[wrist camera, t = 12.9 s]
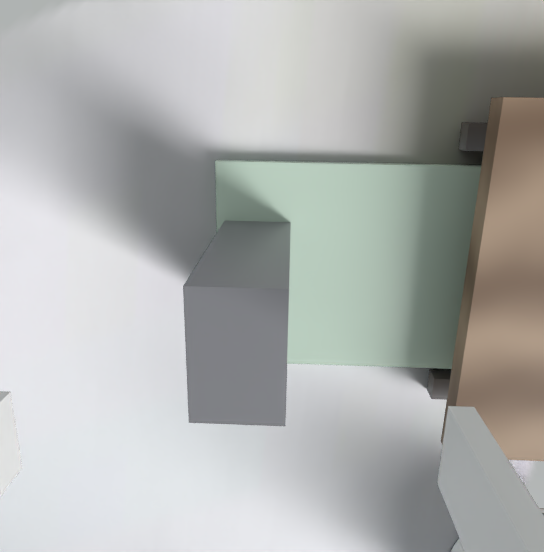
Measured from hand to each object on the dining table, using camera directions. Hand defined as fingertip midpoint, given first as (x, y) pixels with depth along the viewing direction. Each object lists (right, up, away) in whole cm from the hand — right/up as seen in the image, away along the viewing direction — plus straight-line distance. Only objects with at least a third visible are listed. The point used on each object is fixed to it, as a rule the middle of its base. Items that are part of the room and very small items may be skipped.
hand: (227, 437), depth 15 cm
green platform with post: (+9, +5, +17) cm, 20 cm away
